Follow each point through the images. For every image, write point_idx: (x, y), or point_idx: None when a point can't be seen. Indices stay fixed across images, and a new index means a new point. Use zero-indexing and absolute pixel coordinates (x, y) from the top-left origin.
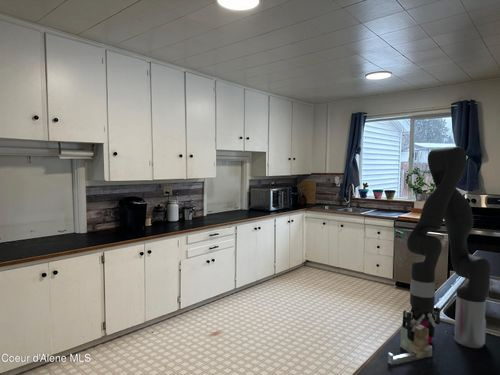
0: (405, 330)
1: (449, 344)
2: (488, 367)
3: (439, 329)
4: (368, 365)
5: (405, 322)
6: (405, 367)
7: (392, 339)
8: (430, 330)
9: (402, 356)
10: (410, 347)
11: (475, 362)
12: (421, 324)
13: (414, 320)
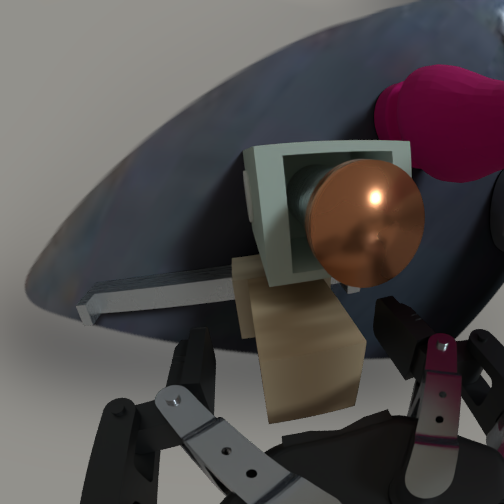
0: (258, 206)
1: (467, 200)
2: None
3: None
4: (30, 279)
5: (126, 446)
6: (155, 322)
7: (249, 71)
8: (394, 345)
9: (154, 303)
10: (232, 271)
11: (436, 320)
12: (452, 146)
13: (402, 213)
